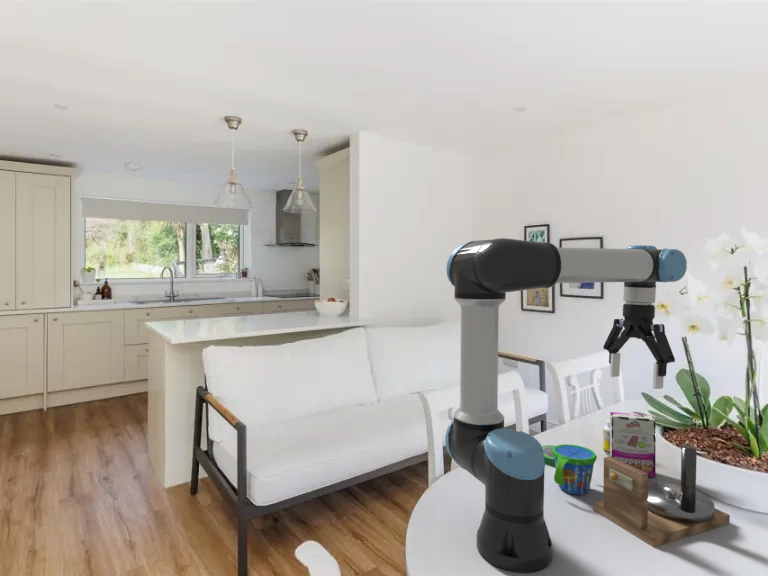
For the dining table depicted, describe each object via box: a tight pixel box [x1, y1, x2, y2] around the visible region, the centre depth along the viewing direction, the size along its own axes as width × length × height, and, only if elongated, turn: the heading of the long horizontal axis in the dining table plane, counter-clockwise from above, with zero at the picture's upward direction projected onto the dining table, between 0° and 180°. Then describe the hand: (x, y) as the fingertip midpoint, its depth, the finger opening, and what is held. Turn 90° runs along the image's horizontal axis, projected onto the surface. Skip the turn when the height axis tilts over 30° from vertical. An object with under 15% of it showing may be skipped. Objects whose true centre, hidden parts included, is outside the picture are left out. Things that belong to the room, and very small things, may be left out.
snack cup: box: [551, 443, 598, 496], centre depth 121 cm, size 16×10×10 cm
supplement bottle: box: [602, 419, 610, 456], centre depth 145 cm, size 6×6×10 cm
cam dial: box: [648, 445, 715, 522], centre depth 108 cm, size 15×15×16 cm
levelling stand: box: [592, 455, 731, 548], centre depth 107 cm, size 26×16×14 cm, turn 111°
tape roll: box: [541, 444, 556, 468], centre depth 141 cm, size 11×11×3 cm
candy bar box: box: [609, 411, 657, 478], centre depth 131 cm, size 11×5×16 cm, turn 70°
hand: (635, 382), depth 124 cm, fingers open, 13 cm apart
